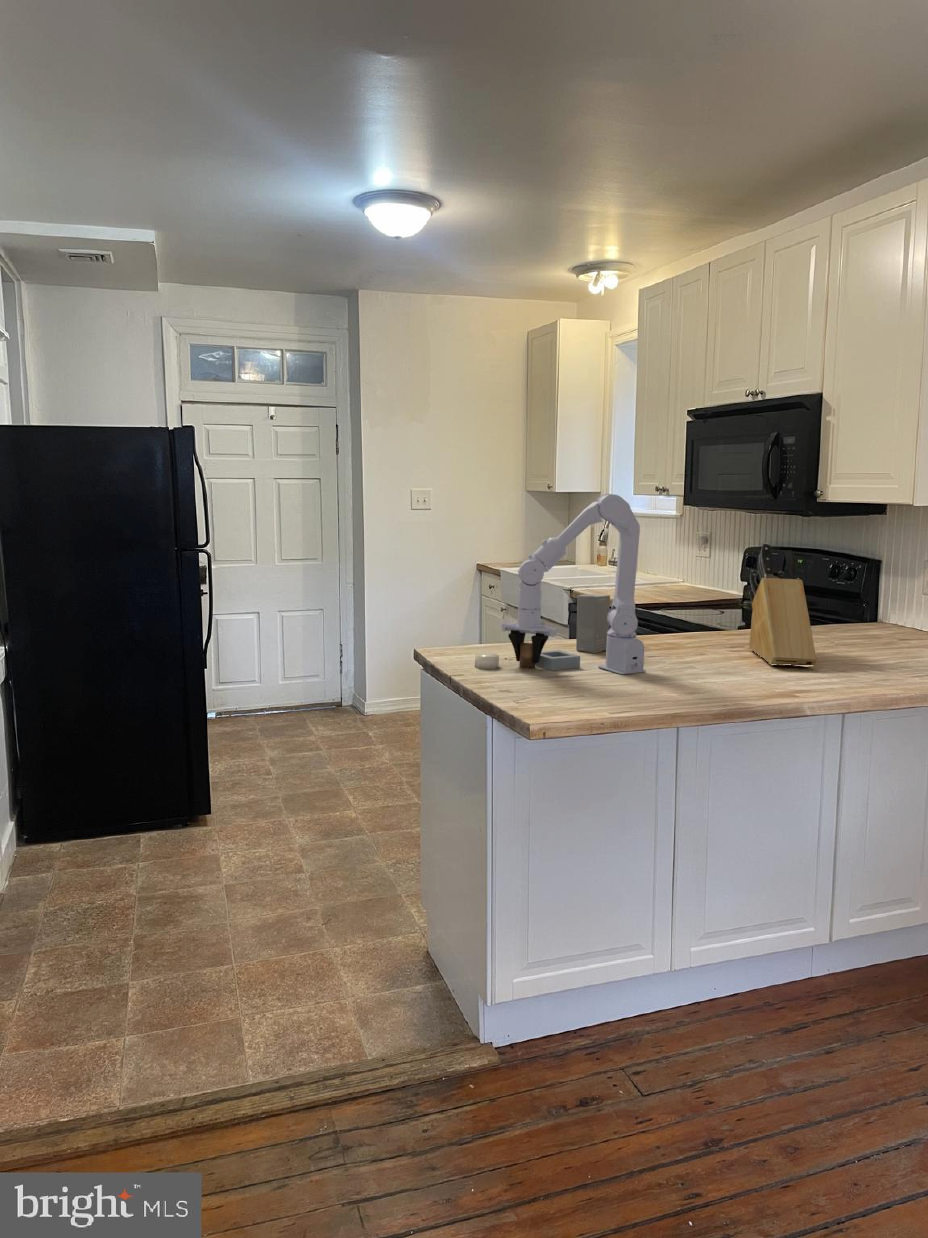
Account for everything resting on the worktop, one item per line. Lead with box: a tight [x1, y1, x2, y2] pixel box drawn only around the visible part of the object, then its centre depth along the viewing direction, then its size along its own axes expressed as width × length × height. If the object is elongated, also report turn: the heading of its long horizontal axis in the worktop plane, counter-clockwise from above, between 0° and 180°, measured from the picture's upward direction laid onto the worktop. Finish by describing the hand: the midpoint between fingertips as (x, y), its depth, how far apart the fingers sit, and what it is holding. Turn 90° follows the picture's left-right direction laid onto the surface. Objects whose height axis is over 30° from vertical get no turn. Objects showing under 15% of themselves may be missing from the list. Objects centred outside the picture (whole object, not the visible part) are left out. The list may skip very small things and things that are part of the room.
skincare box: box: [575, 593, 611, 654], centre depth 250 cm, size 8×7×16 cm
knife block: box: [748, 542, 817, 666], centre depth 245 cm, size 11×35×31 cm, turn 175°
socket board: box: [535, 649, 581, 671], centre depth 228 cm, size 9×9×3 cm
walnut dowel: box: [519, 642, 536, 670], centre depth 226 cm, size 4×4×6 cm
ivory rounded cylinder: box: [474, 652, 500, 670], centre depth 226 cm, size 6×6×3 cm
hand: (527, 661), depth 226 cm, fingers closed on walnut dowel, 4 cm apart
